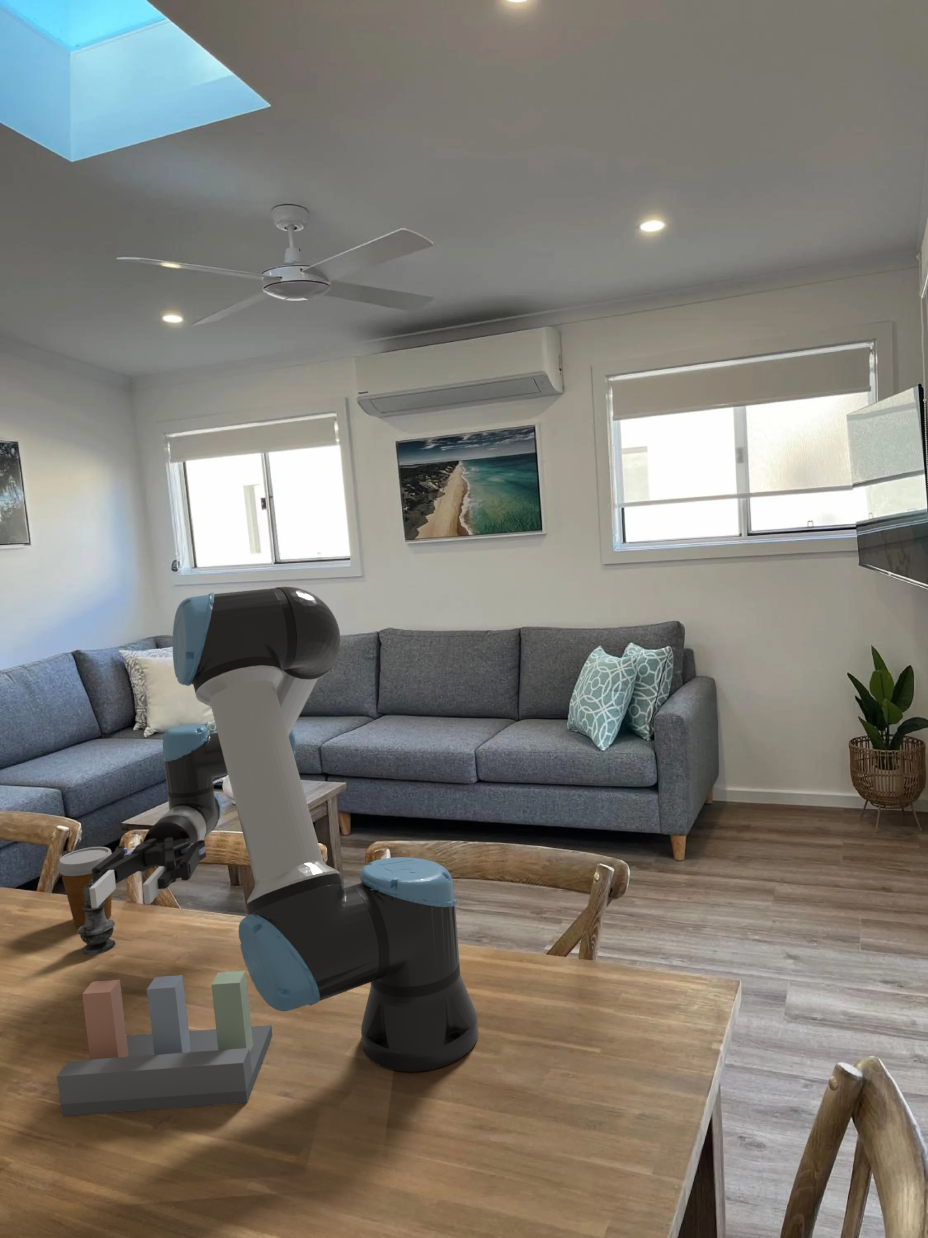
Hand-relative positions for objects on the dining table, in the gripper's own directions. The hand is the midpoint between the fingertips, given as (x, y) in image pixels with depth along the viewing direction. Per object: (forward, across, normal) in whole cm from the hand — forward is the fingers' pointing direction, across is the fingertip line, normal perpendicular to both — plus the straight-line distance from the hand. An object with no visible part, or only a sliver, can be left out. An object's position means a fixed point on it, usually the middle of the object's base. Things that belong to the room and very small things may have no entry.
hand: (119, 896), depth 118 cm
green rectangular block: (+8, -16, -18) cm, 26 cm away
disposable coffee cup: (-41, +23, -20) cm, 51 cm away
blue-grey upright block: (+8, -8, -18) cm, 22 cm away
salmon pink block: (+8, 0, -18) cm, 20 cm away
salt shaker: (-29, +17, -20) cm, 39 cm away
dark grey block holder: (+9, -8, -20) cm, 23 cm away
